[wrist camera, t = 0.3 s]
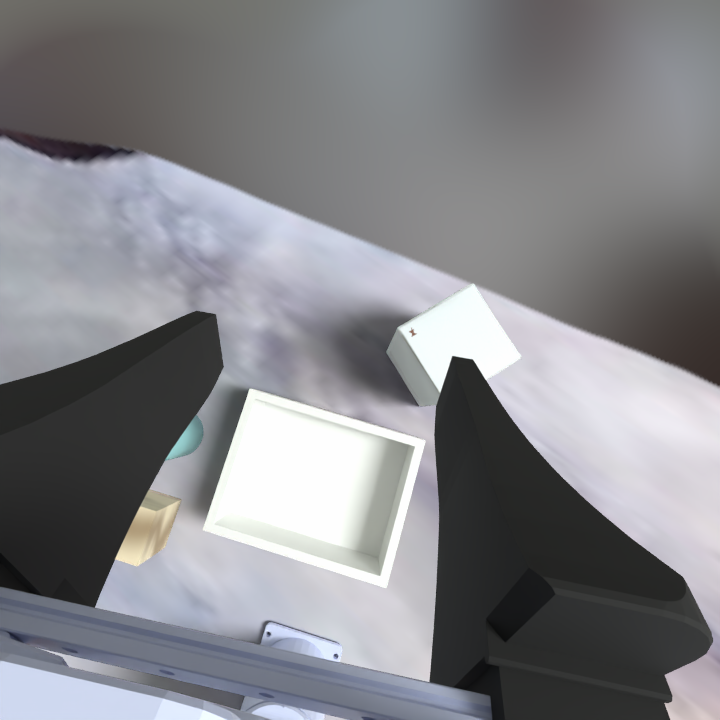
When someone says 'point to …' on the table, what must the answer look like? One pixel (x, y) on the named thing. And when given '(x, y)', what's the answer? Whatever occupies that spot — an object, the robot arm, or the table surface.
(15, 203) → the table surface
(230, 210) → the table surface
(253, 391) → the tote
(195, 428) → the teal cylinder
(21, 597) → the robot arm
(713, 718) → the table surface
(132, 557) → the maple cube
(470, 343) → the supplement box
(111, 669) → the table surface
